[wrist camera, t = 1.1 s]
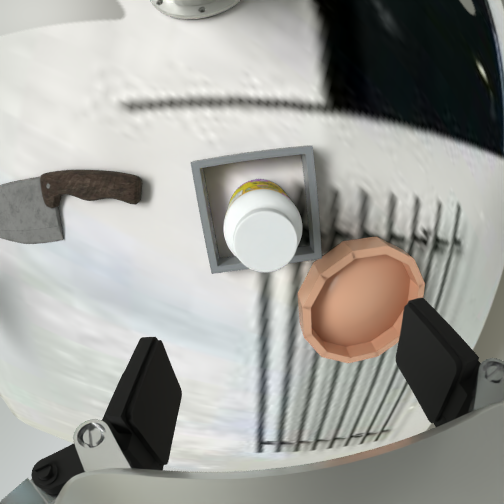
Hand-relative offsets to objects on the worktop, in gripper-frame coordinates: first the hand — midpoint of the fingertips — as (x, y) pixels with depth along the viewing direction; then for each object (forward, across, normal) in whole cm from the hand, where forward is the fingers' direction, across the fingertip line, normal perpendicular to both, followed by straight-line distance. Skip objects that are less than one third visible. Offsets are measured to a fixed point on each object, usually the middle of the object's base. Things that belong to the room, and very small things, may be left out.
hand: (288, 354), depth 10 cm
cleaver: (+25, +28, -6) cm, 38 cm away
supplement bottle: (+25, 0, 0) cm, 25 cm away
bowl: (+24, -12, +14) cm, 30 cm away
